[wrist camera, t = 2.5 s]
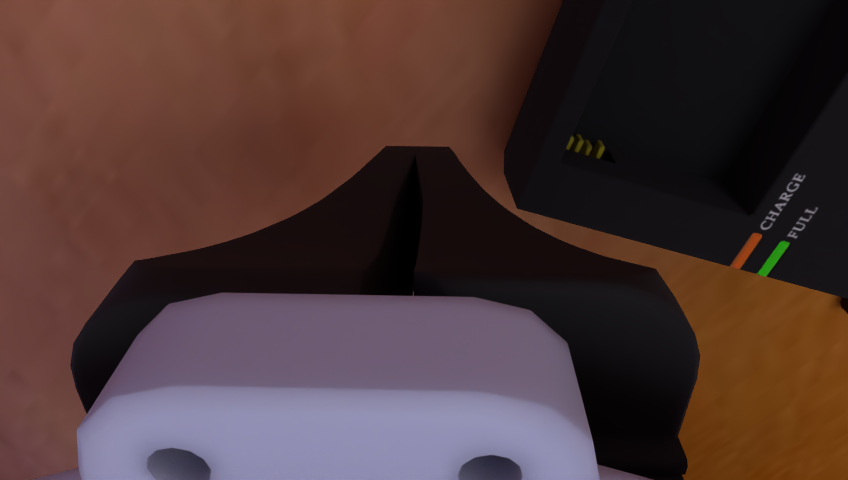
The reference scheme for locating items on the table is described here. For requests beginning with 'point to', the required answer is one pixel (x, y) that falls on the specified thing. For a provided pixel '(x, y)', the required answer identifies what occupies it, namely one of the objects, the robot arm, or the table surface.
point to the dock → (845, 304)
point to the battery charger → (696, 131)
